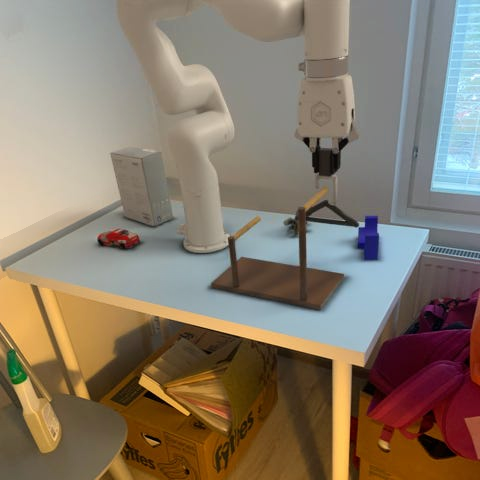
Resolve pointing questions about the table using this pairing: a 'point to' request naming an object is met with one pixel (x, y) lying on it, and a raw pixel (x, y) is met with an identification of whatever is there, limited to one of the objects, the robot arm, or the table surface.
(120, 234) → the race car
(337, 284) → the rack
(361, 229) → the cable clip
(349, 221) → the hanger
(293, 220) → the eagle figurine
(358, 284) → the table surface
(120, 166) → the hard drive box
